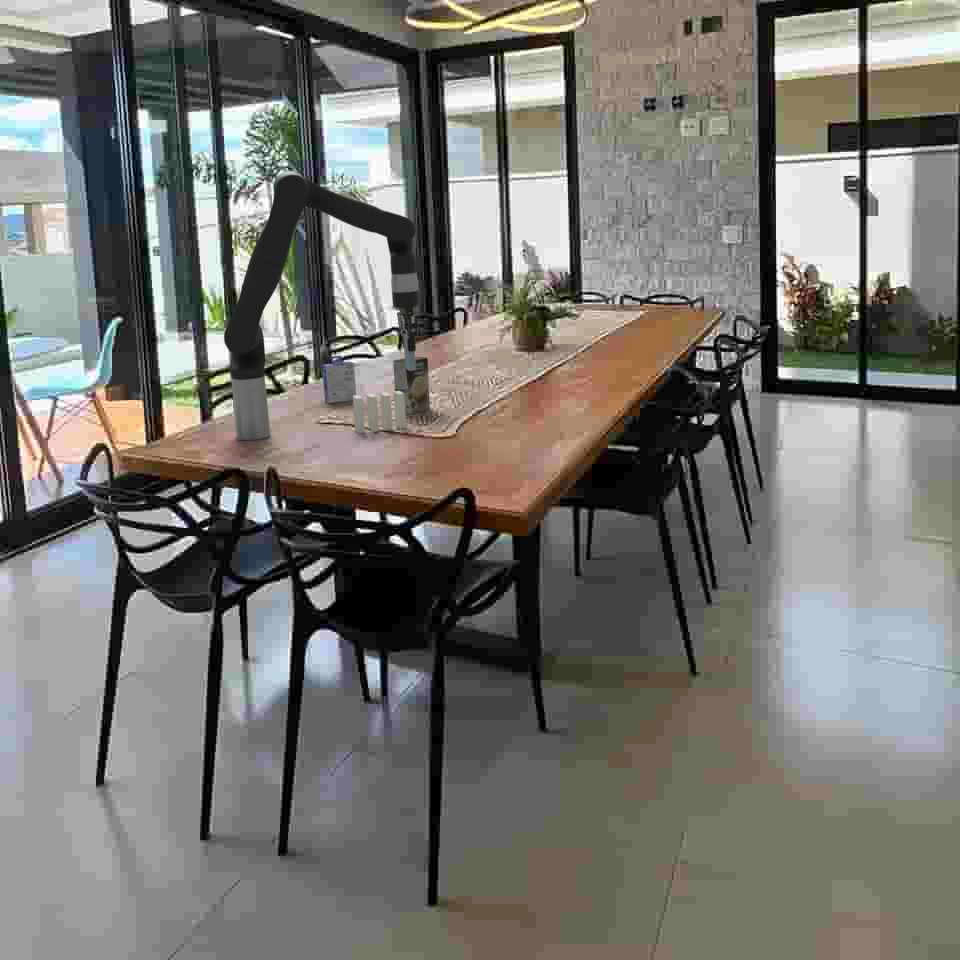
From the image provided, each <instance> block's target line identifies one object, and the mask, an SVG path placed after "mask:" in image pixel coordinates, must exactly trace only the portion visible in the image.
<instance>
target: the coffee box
mask: <svg viewBox="0 0 960 960" xmlns="http://www.w3.org/2000/svg"><path fill="white" fill-rule="evenodd" d="M415 360H416V370H415V371H409V370H407V369H406V366H405V357H404V358H399V359H394V360H392V361H393V362H392V363H393V380H394V381H393V382H394V383H393V385H394V391H401V392H402V393H404V400H405V415H413V414H416V413H419V412H423V411H424V412H425V411H428V410H430V409H431V403H430V402H431V400H430V399H431V398H430V384H429V382H430V380H429V379H430V378H429V362H428V361H429V360H428V357H424V356H415Z"/></svg>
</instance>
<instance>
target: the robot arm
mask: <svg viewBox="0 0 960 960" xmlns="http://www.w3.org/2000/svg"><path fill="white" fill-rule="evenodd" d="M272 185H273V187H272V188H273V189H272V190H273V194H274V195H273V199H272V205H271V208H270V213H269V217H268V219H267V221H266V224H265V226H264V228H263V230H262V231H261V233H260V235H259V237H258V239H257V241H256V243H255V245H254V248H253V250H252V252H251V255H250V258H249V260H248V264H247V268H246V270H245V271H246V272H245V274H244V279H243V282H242V284H241V289H240V293H239V297H238V299H237V303H236V306H235V308H234V310H233V312H232V315H231V317H230V319H229V322H228V324H227V325H226V328H225V330H224V333H223V341H224V345H225V347H226V349H227V350H228V351H229V352H230V353H232V364H231V367H230V378H231V379H230V380H231V381H230V382H231V387H232V397H233V398H232V399H233V404H232V405H233V414H234V415H233V417H234V426H235V434H236V438H237V439H238V441H254V440H255V441H256V440H261V439H265V438H268V437H271V427H270V426H271V425H270V418H269V417H270V416H269V407H268V406H269V405H268V398H267V397H268V395H267V385H266V378H265V377H266V375H265V374H266V373H265V367H266V354H265V353H266V349H265V338H264V337H265V336H264V331H263V329H262V326H261V325H260V322H261V318H262V316H263V313H264V310H265V309H266V306H267V305H268V303H269V301H270V299H271V298H272V296H273V294H274V292H275V291H276V289H277V286H279V284H280V280H281V278H282V276H283V272H284V269H285V267H286V263H287V259H288V256H289V254H290V253H289V252H290V249H291V245H292V241H293V236H294V232H295V229H296V226H297V225H298V221H299V219H300V217H301V214H302V213H303V211H304V209H305V208H308V209H313V210H316V211H318V212H321V213H324V214H326V215H328V216H330V217H332V218H335V219H337V220H338V221H341V222H343V223H345V224H347V225H350V226H353V227H355V228H358V229H361V230H364V231H365V232H369V233H374V234H378V235H380V236H383V237H386V241H387V246H388V251H389V257H390V276H391V279H390V286H391V299H392V307H393V308H395V309H399V311H397V312H396V315H397V317H396V318H397V322H398V323H397V325H398V332H399V333H400V336H401V337H402V340H401V341H402V349H404V338H403V334H406V337H407V346H408V351H409V352H412V351H415V352H416V351H417V347H416V346H417V343H416V337H418V315H416V313H415V312H414V308H417V307H418V306H420V292H419V291H420V290H419V279H418V275H417V262H416V257H415V254H414V251H413V249H412V248H413V247H412V240H413V239H414V237H415V236H416V232H417V228H416V225H415V223H414V222H413V220H411V218H409V217H406V216H403V215H401V214H397V213H394V212H390V211H387V210H384V209H381V208H380V207H377V206H376V205H373V204H370V203H367V202H364V201H362V200H359V199H355V198H353V197H350V196H346V195H343V194H341V193H338V192H335V191H332V190H330V189H327V188H326V187H323V186H321V185H320V184H317V183H315V182H313V181H311V180H310V179H307V178H306V177H304V176H303V175H302V174H301V173H299V172H297V171H293V170H287V171H282V172H281V173H279V174H278V175H277V176H276V177H275V179H274V181H273V184H272Z"/></svg>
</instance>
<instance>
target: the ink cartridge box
mask: <svg viewBox="0 0 960 960" xmlns="http://www.w3.org/2000/svg"><path fill="white" fill-rule="evenodd" d="M335 359H336V360H335ZM330 362H331V363H327V364H321V373H322V384H323V393H324V394H323V395H324V401H325V403H328V404H333V403H342V402H349V401H353V396H354V395H357V387H356V376H355V374H356V373H355V363H354V362H352V361H343V358H342V356H341V355H333V356H330Z"/></svg>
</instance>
